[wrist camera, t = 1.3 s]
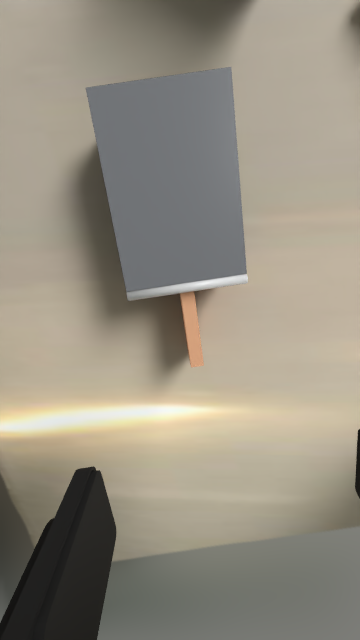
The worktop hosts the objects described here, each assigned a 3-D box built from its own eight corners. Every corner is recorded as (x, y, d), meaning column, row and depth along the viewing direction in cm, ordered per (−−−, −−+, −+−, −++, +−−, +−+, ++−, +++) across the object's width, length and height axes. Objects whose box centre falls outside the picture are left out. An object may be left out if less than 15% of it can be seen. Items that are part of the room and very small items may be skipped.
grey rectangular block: (215, 116, 22) (231, 64, 16) (230, 278, 25) (248, 283, 19) (106, 132, 21) (84, 85, 16) (137, 292, 25) (127, 301, 19)
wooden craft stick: (173, 156, 21) (173, 134, 18) (198, 350, 26) (203, 365, 22) (159, 158, 21) (157, 136, 18) (188, 352, 26) (191, 367, 22)
